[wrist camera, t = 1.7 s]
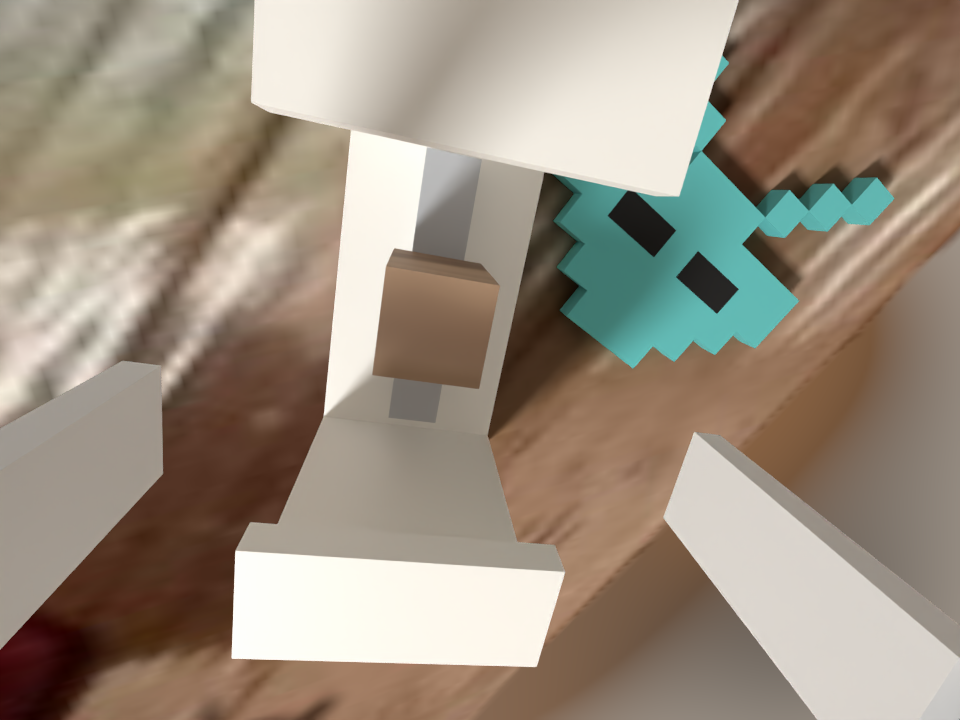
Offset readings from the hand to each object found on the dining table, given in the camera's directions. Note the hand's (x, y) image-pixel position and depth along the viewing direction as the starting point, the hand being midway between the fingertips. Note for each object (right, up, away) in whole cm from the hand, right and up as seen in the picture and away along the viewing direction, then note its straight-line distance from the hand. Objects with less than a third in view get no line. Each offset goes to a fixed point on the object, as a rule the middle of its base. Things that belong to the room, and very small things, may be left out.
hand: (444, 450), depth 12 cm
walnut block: (-2, +6, +16) cm, 17 cm away
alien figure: (+15, +12, +22) cm, 29 cm away
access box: (-3, +8, +21) cm, 22 cm away
